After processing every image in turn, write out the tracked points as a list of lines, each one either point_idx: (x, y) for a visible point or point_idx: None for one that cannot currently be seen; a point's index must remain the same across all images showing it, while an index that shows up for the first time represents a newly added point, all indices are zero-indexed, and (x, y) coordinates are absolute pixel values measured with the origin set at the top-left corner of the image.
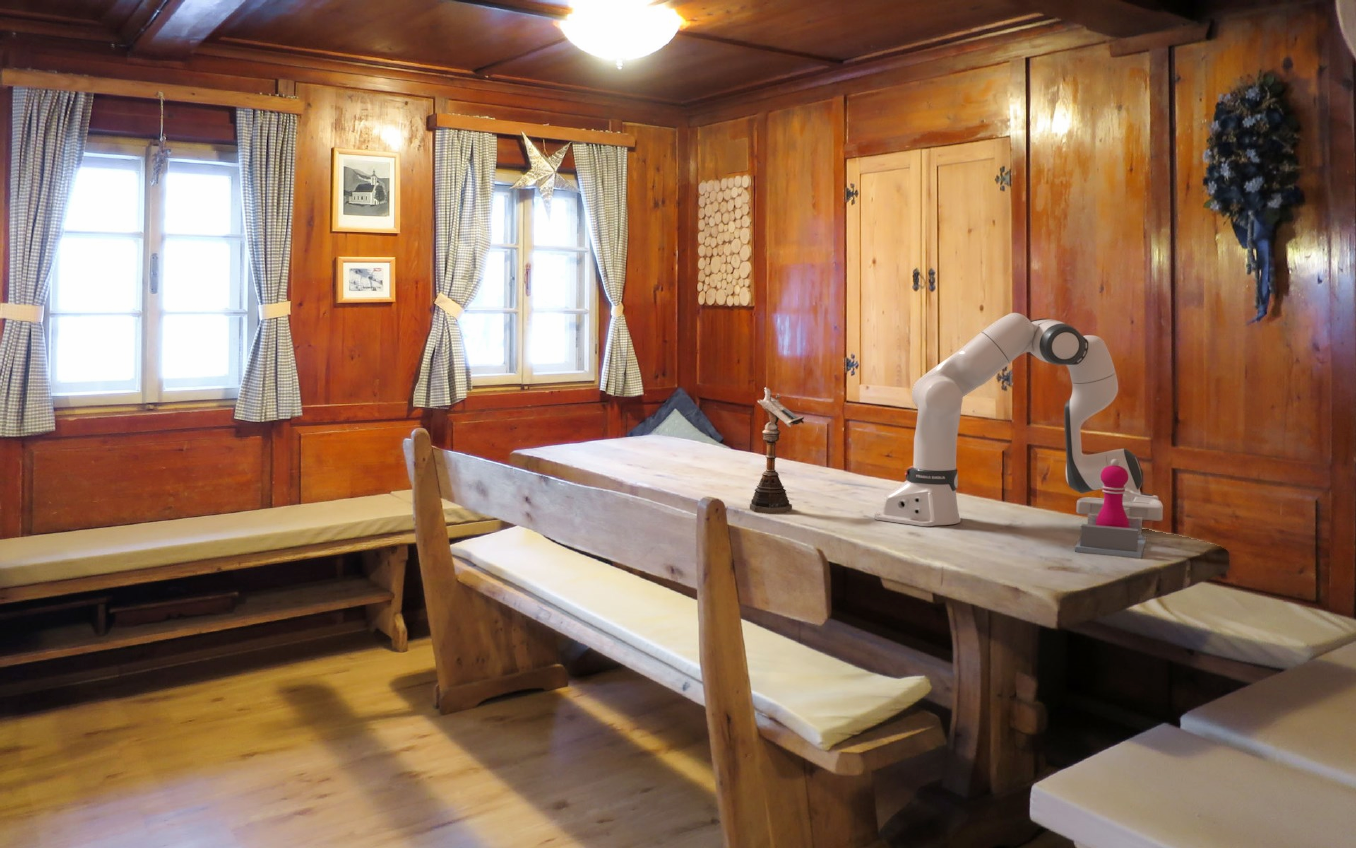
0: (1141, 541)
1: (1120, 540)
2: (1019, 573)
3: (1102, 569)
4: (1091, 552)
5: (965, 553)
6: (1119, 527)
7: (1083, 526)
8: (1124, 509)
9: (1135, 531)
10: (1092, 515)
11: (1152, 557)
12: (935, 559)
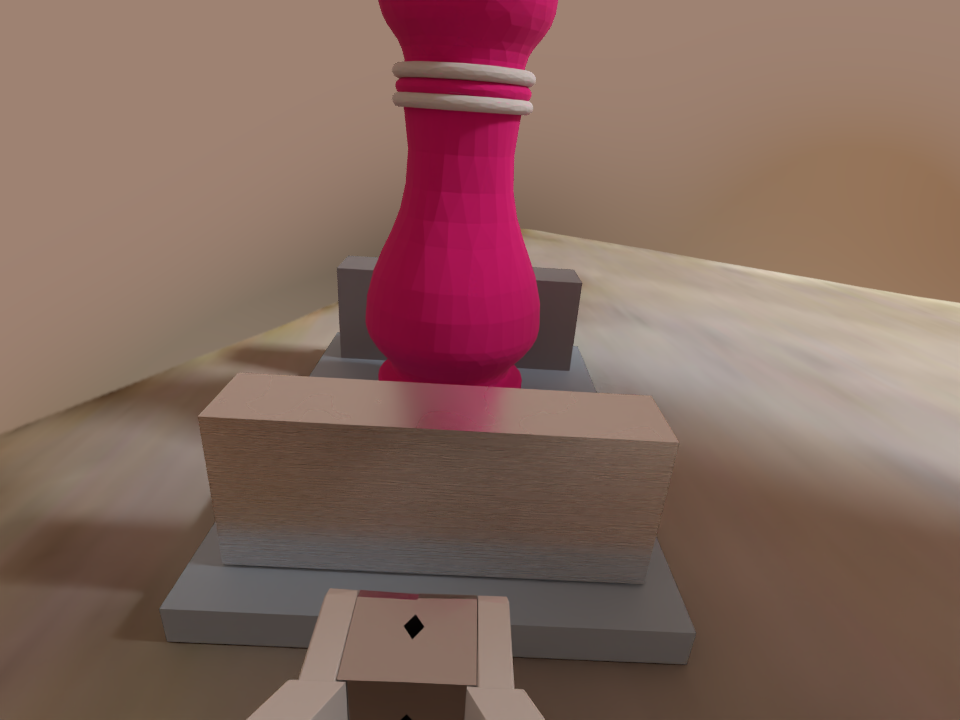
0: None
1: None
2: (612, 262)
3: None
4: None
5: (816, 313)
6: None
7: (564, 270)
8: (283, 704)
9: (357, 258)
10: (615, 395)
11: (286, 367)
12: (812, 285)
